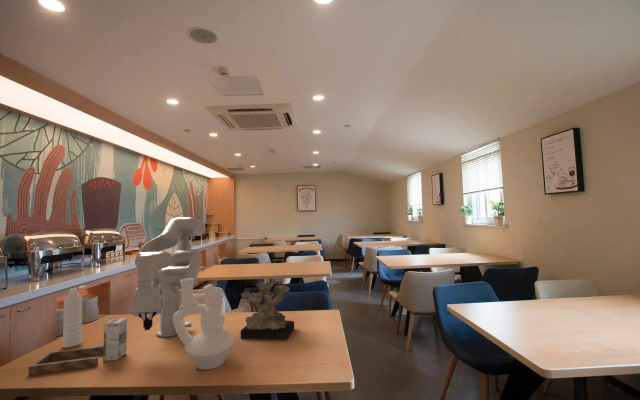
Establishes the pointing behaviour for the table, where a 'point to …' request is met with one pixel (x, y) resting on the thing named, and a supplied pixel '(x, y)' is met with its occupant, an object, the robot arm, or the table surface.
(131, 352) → the table surface
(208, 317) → the white sculpture
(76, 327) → the water bottle
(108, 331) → the syrup box
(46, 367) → the u rest
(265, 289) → the coral
